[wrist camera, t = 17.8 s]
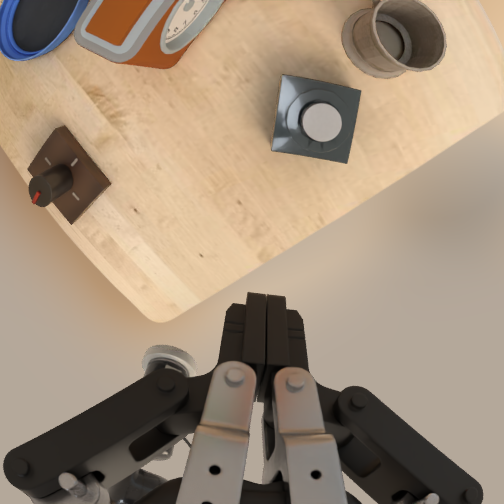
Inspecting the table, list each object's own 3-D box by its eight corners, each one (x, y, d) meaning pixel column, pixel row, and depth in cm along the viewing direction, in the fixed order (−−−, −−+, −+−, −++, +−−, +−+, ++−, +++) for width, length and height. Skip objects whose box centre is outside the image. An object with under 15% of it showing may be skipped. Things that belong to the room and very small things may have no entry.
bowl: (11, 77, 30) (-4, 79, 27) (11, -10, 21) (-2, -12, 18) (97, 35, 29) (84, 32, 26) (97, -59, 20) (86, -66, 17)
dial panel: (111, 183, 40) (103, 189, 37) (79, 218, 43) (70, 225, 40) (64, 125, 35) (54, 128, 33) (36, 164, 38) (26, 169, 36)
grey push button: (333, 141, 31) (338, 145, 29) (297, 135, 31) (299, 137, 29) (340, 106, 29) (345, 108, 27) (303, 99, 29) (305, 100, 27)
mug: (422, 71, 30) (474, 72, 19) (358, 85, 32) (396, 85, 22) (383, -24, 23) (422, -54, 13) (315, -14, 25) (334, -51, 15)
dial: (59, 157, 35) (34, 169, 30) (78, 177, 37) (55, 192, 32) (46, 179, 37) (23, 192, 32) (64, 198, 38) (42, 214, 33)
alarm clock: (171, 75, 32) (125, 71, 21) (121, 48, 30) (62, 39, 18) (241, -14, 26) (229, -59, 14) (186, -39, 24) (153, -83, 12)
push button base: (339, 156, 37) (351, 168, 32) (270, 145, 37) (271, 154, 31) (352, 90, 32) (367, 90, 27) (280, 75, 32) (283, 72, 27)
